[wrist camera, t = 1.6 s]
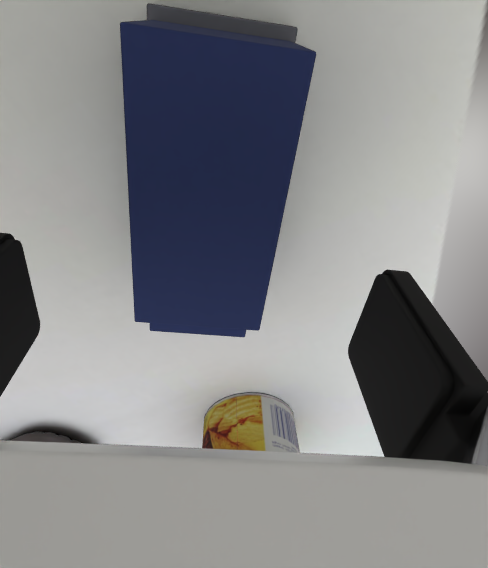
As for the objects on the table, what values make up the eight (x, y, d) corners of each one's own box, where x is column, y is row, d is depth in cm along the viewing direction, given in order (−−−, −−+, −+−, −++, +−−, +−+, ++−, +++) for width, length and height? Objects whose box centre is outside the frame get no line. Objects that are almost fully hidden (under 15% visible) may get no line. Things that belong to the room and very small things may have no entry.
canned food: (185, 425, 33) (168, 598, 23) (245, 379, 30) (254, 557, 20) (251, 456, 36) (260, 618, 26) (312, 417, 33) (348, 586, 23)
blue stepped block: (152, 4, 16) (110, -3, 10) (292, 26, 16) (327, 32, 11) (155, 290, 24) (132, 375, 19) (246, 298, 25) (252, 381, 19)
